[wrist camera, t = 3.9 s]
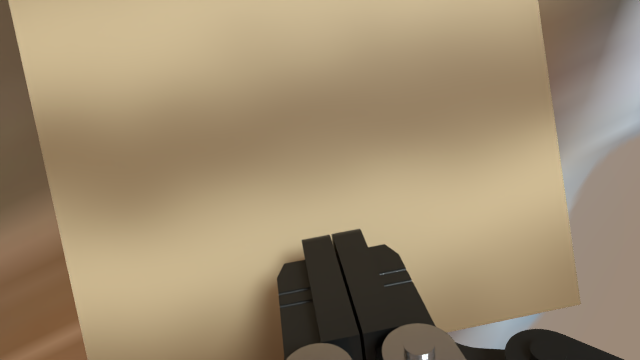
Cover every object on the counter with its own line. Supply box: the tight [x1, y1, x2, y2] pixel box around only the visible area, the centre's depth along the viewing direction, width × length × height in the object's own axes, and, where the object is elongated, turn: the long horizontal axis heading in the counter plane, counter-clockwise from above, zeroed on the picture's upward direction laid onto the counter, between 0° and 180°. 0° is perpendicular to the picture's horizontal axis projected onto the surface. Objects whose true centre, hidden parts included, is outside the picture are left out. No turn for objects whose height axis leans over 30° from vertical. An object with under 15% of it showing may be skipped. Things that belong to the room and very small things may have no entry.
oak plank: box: [8, 0, 581, 360], centre depth 15 cm, size 14×14×3 cm
